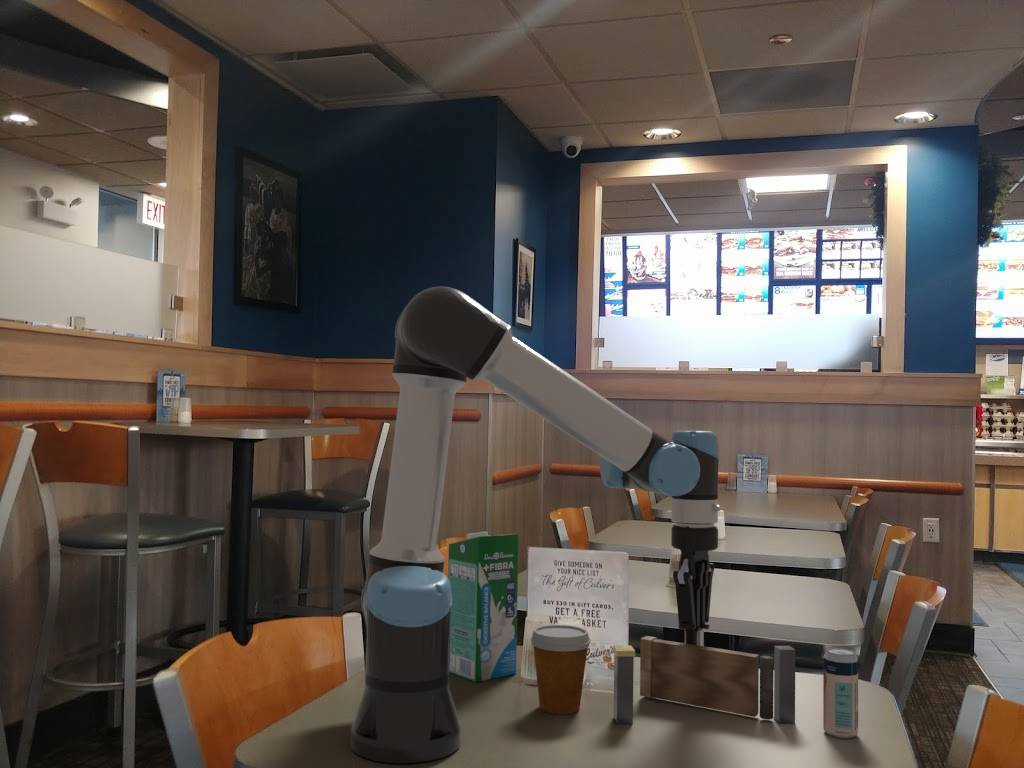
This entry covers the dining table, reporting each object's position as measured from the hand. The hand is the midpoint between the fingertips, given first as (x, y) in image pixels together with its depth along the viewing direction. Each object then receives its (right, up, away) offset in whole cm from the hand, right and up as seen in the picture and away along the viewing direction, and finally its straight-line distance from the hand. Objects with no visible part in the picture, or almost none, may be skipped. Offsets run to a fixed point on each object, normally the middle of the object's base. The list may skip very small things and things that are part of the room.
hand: (693, 669), depth 147 cm
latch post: (-13, -4, -11) cm, 17 cm away
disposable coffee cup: (-22, -5, -5) cm, 23 cm away
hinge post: (+12, -5, -10) cm, 16 cm away
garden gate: (+1, -4, -5) cm, 6 cm away
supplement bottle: (+18, -5, -15) cm, 24 cm away
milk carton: (-35, -5, +14) cm, 38 cm away
